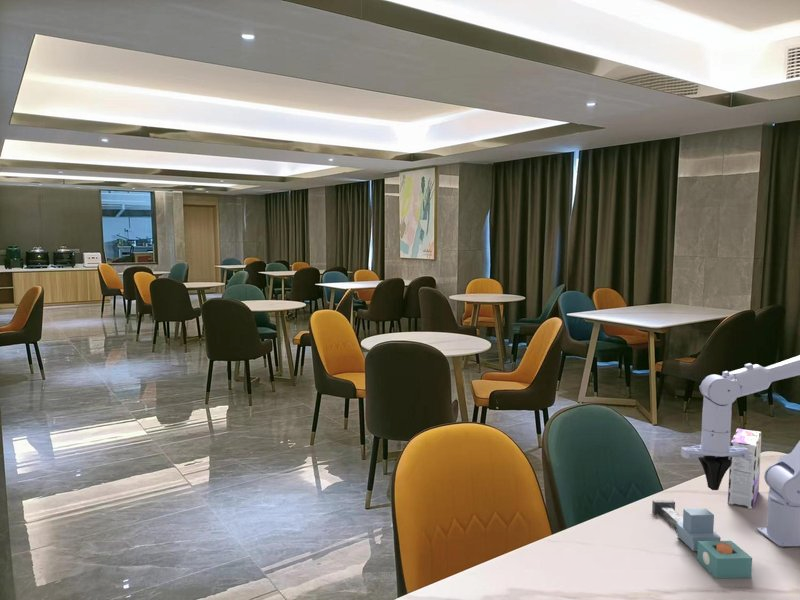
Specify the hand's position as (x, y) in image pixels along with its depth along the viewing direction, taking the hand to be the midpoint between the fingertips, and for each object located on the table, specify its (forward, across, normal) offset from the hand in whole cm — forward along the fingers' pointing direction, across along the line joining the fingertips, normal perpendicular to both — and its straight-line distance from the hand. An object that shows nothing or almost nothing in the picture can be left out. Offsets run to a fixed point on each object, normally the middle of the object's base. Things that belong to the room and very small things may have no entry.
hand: (713, 488), depth 135 cm
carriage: (+10, +6, +5) cm, 13 cm away
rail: (+10, +6, 0) cm, 12 cm away
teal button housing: (+10, +6, +15) cm, 19 cm away
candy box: (+11, -19, -19) cm, 29 cm away
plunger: (+10, +6, +15) cm, 19 cm away
